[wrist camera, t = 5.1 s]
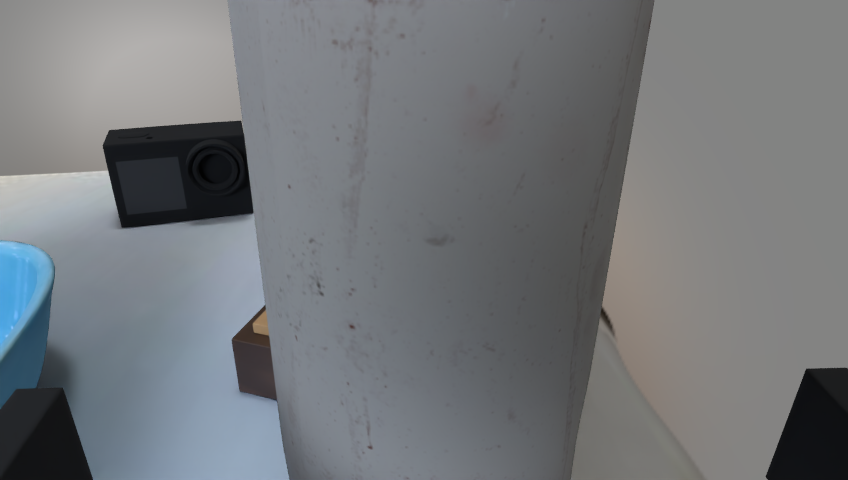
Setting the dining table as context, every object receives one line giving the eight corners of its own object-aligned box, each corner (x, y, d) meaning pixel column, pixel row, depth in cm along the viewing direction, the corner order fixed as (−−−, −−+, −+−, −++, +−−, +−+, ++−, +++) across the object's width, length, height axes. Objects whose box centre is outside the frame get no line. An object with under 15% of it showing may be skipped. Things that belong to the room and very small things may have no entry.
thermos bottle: (478, 510, 26) (547, -379, 13) (587, 709, 20) (927, -664, 7) (289, 572, 24) (151, -456, 11) (342, 826, 17) (148, -1041, 4)
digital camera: (118, 235, 48) (98, 149, 45) (125, 208, 53) (107, 128, 50) (255, 219, 51) (245, 138, 48) (250, 194, 56) (241, 118, 53)
